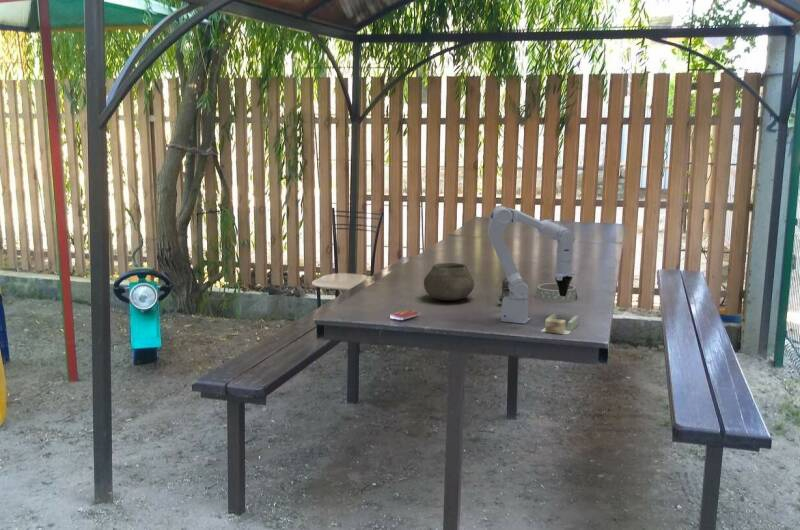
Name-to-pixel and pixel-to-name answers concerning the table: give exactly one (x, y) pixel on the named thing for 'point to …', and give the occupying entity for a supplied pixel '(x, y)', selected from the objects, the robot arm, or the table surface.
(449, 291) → the clay pot
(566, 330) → the mat
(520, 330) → the table surface
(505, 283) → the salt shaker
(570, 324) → the rails
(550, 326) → the birch block
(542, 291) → the dog bowl
